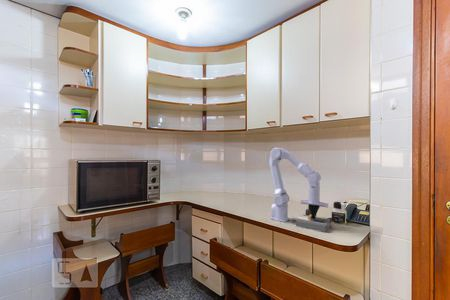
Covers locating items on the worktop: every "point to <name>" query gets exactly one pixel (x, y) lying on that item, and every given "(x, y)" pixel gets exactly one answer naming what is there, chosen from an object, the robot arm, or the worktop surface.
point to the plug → (308, 212)
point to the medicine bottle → (339, 213)
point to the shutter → (305, 217)
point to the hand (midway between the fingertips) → (313, 218)
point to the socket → (315, 224)
